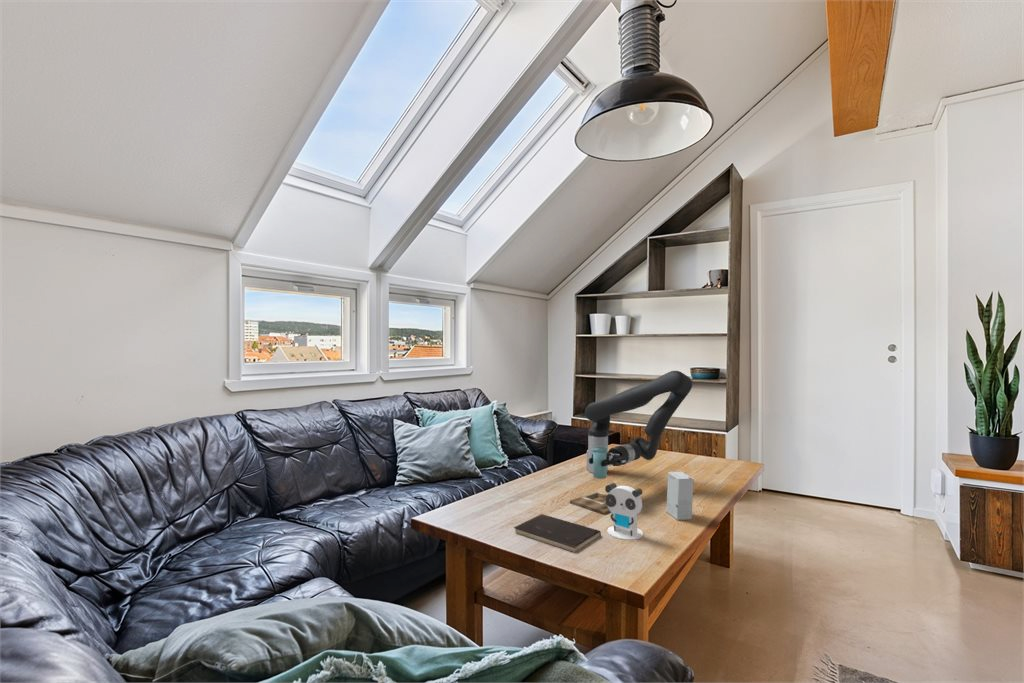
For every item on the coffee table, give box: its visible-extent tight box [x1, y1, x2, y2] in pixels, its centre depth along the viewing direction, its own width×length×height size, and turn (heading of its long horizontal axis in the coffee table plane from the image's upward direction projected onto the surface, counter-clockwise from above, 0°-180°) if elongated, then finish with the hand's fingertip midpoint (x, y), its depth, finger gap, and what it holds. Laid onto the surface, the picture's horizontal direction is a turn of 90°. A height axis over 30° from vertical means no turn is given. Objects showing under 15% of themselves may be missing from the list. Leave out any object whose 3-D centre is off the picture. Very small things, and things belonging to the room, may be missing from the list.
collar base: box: [569, 491, 611, 515], centre depth 182 cm, size 16×16×2 cm
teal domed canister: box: [592, 447, 608, 480], centre depth 182 cm, size 5×5×11 cm
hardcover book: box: [513, 513, 602, 553], centre depth 154 cm, size 16×23×2 cm
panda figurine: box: [604, 482, 644, 541], centre depth 155 cm, size 12×11×15 cm
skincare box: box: [666, 471, 694, 521], centre depth 170 cm, size 8×6×15 cm
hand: (595, 462), depth 180 cm, fingers closed on teal domed canister, 5 cm apart
